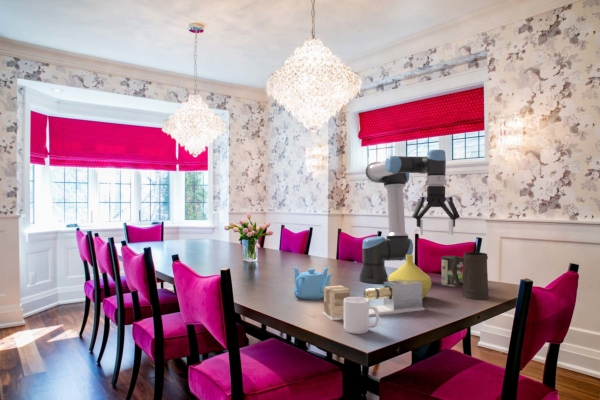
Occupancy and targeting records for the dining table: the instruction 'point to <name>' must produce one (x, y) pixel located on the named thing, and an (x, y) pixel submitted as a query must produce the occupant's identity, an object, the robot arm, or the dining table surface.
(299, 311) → the dining table surface
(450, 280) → the coffee can
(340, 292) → the socket block
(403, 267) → the vase
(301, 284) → the teapot
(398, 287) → the sleeve
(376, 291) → the slip tube
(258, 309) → the dining table surface
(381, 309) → the base rail
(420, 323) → the dining table surface
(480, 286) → the beer stein
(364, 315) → the cup
